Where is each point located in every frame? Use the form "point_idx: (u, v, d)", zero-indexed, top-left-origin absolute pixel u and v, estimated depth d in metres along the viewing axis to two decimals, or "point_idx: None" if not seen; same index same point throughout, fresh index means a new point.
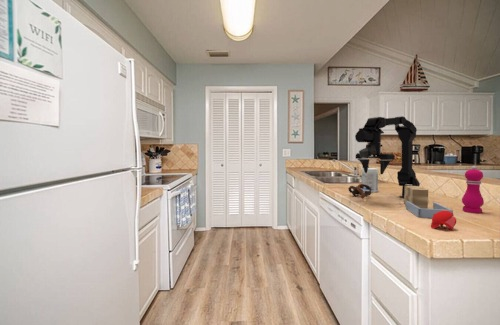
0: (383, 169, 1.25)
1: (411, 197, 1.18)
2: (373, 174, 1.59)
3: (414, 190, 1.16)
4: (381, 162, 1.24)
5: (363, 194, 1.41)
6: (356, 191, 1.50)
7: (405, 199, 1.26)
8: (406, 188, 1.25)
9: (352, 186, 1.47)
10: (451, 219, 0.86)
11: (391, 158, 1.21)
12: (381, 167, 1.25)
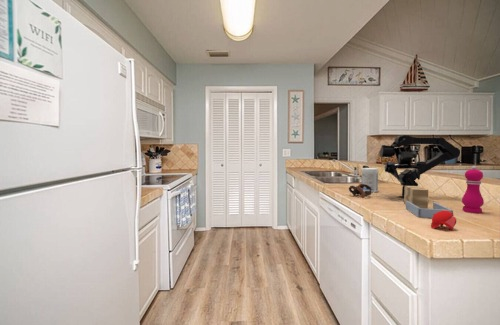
0: (419, 175, 1.31)
1: (411, 197, 1.18)
2: (373, 174, 1.59)
3: (414, 190, 1.16)
4: (420, 167, 1.31)
5: (363, 194, 1.42)
6: (356, 191, 1.50)
7: (405, 199, 1.26)
8: (406, 188, 1.25)
9: (352, 186, 1.47)
10: (451, 219, 0.86)
11: None
12: (418, 172, 1.31)
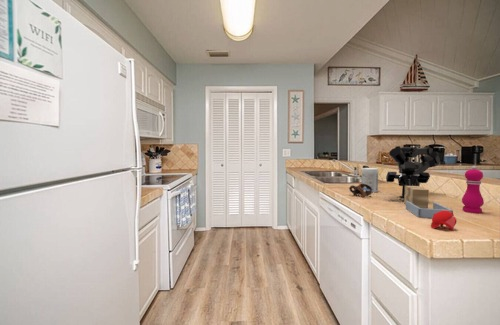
0: None
1: (411, 197, 1.18)
2: (373, 174, 1.59)
3: (414, 190, 1.16)
4: (412, 178, 1.29)
5: (364, 194, 1.43)
6: (357, 191, 1.51)
7: (405, 199, 1.26)
8: (406, 188, 1.25)
9: (353, 186, 1.48)
10: (451, 219, 0.86)
11: None
12: (411, 183, 1.28)
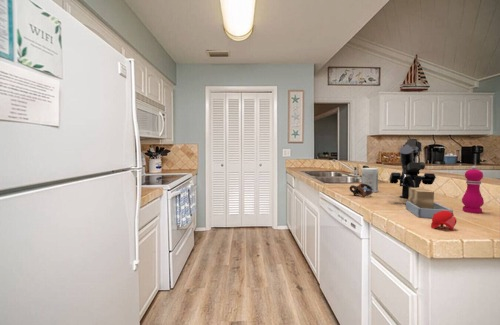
0: None
1: (415, 199, 1.12)
2: (373, 174, 1.59)
3: (419, 192, 1.10)
4: (417, 179, 1.23)
5: (364, 193, 1.43)
6: (357, 190, 1.51)
7: (409, 201, 1.20)
8: (410, 190, 1.19)
9: (353, 186, 1.48)
10: (451, 219, 0.86)
11: None
12: (416, 185, 1.22)
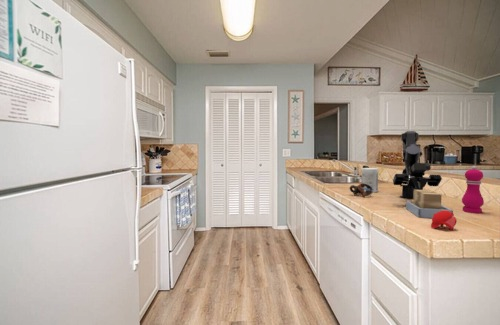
0: None
1: (422, 202, 1.06)
2: (373, 174, 1.59)
3: (425, 195, 1.04)
4: (422, 181, 1.17)
5: (364, 193, 1.44)
6: (357, 190, 1.52)
7: (414, 204, 1.14)
8: (416, 192, 1.13)
9: (353, 185, 1.49)
10: (451, 219, 0.86)
11: None
12: (421, 187, 1.16)
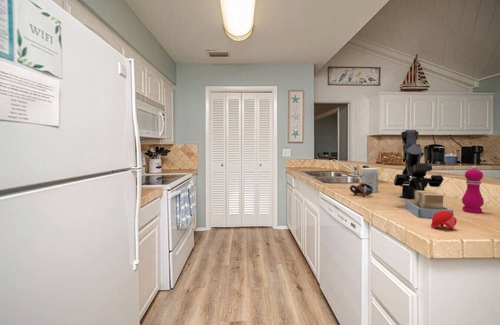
0: None
1: (423, 203, 1.04)
2: (373, 174, 1.59)
3: (427, 196, 1.02)
4: (424, 182, 1.16)
5: (364, 193, 1.44)
6: (357, 190, 1.52)
7: (416, 205, 1.12)
8: (417, 193, 1.11)
9: (353, 185, 1.49)
10: (451, 219, 0.86)
11: None
12: (422, 187, 1.15)
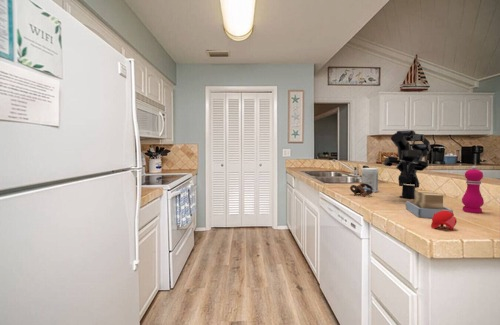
0: None
1: (423, 203, 1.04)
2: (373, 174, 1.59)
3: (427, 196, 1.02)
4: (411, 166, 1.28)
5: (365, 193, 1.45)
6: (357, 190, 1.53)
7: (416, 205, 1.12)
8: (417, 193, 1.11)
9: (354, 185, 1.50)
10: (451, 219, 0.86)
11: None
12: (409, 171, 1.28)
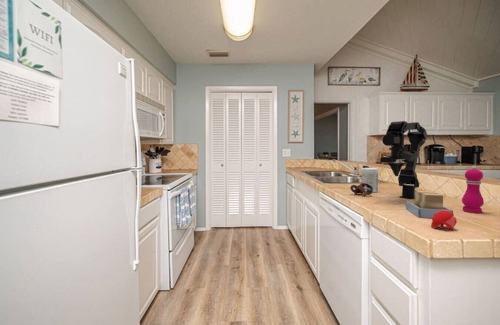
0: None
1: (423, 203, 1.04)
2: (373, 174, 1.59)
3: (427, 196, 1.02)
4: (402, 164, 1.32)
5: (365, 193, 1.45)
6: (357, 190, 1.54)
7: (416, 205, 1.12)
8: (417, 193, 1.11)
9: (354, 185, 1.50)
10: (451, 219, 0.86)
11: None
12: (399, 169, 1.32)
